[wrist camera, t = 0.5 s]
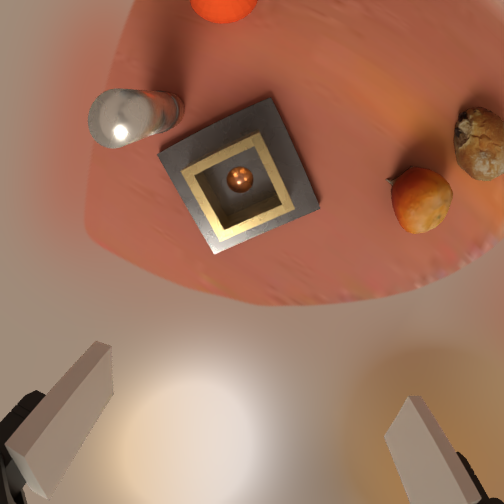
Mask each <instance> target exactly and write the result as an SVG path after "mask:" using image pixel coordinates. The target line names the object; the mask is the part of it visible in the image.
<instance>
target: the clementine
mask: <svg viewBox="0 0 504 504" xmlns="http://www.w3.org/2000/svg"><path fill="white" fill-rule="evenodd" d="M257 1H258V0H190V3H191V6H192V8H193V9H194V11H195V12H196V13H197V14H198V15H199V16H201V17H202V18H204V19H206V20H208V21H210V22H214V23H231V22H235V21H238V20H240V19H242V18H244V17H246V16H247V15H248V14H249V13H251V11H252V10H253V9H254V7H255V6H256V4H257Z"/></svg>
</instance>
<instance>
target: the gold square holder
mask: <svg viewBox="0 0 504 504" xmlns="http://www.w3.org/2000/svg"><path fill="white" fill-rule="evenodd" d="M157 155H158V157H159V159H160V161H161V163H162V164H163V166H164V168H165V170H166V171H167V173H168V175H169V177H170V179H171V180H172V182H173V184H174V186H175V187H176V189H177V191H178V193H179V194H180V196H181V198H182V200H183V201H184V203H185V205H186V207H187V208H188V210H189V212H190V214H191V215H192V217H193V219H194V221H195V222H196V224H197V226H198V227H199V229H200V231H201V233H202V234H203V236H204V238H205V239H206V241H207V243H208V244H209V246H210V248H211V249H212V251H213V253H214V254H216V253H218V252H221V251H223V250H225V249H227V248H230V247H232V246H234V245H237V244H239V243H241V242H244V241H246V240H248V239H250V238H253V237H255V236H257V235H260V234H262V233H264V232H267V231H269V230H271V229H274V228H276V227H278V226H281V225H283V224H285V223H288V222H290V221H292V220H295V219H297V218H299V217H302V216H304V215H307V214H309V213H311V212H314V211H316V210H318V209H320V206H319V204H318V201H317V199H316V197H315V194H314V192H313V189H312V187H311V184H310V182H309V180H308V177H307V175H306V173H305V170H304V168H303V166H302V163H301V161H300V159H299V157H298V154H297V152H296V150H295V148H294V145H293V143H292V141H291V139H290V137H289V134H288V132H287V130H286V128H285V126H284V124H283V122H282V119H281V117H280V115H279V113H278V111H277V109H276V107H275V105H274V103H273V101H272V99H271V97H270V98H268V99H266V100H263V101H261V102H259V103H256V104H254V105H252V106H250V107H248V108H245V109H243V110H241V111H239V112H237V113H235V114H232V115H230V116H228V117H226V118H224V119H222V120H220V121H218V122H216V123H214V124H212V125H210V126H208V127H206V128H204V129H202V130H200V131H198V132H197V133H195V134H193V135H191V136H189V137H187V138H185V139H183V140H182V141H180V142H178V143H176V144H174V145H173V146H171V147H169V148H167V149H166V150H164V151H162V152H160V153H159V154H157Z"/></svg>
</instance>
